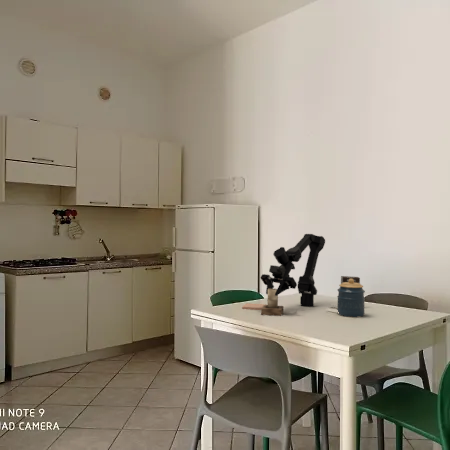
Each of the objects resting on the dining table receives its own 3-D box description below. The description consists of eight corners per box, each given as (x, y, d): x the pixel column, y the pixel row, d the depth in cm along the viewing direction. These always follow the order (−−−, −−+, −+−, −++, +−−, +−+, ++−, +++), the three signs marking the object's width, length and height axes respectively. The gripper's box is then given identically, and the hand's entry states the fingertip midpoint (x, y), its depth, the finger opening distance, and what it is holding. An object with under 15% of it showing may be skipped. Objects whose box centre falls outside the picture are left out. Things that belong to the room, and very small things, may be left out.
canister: (345, 317, 207) (346, 280, 207) (332, 312, 219) (332, 277, 220) (370, 316, 210) (370, 279, 210) (355, 311, 223) (355, 276, 223)
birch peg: (278, 307, 216) (278, 288, 216) (276, 308, 211) (277, 290, 211) (268, 306, 218) (268, 288, 218) (266, 308, 213) (266, 289, 213)
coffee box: (341, 307, 234) (342, 277, 234) (339, 305, 240) (340, 276, 240) (359, 308, 233) (360, 277, 233) (357, 306, 239) (357, 276, 239)
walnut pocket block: (283, 312, 218) (283, 306, 218) (280, 315, 209) (281, 309, 209) (264, 310, 220) (264, 304, 220) (261, 314, 211) (261, 308, 211)
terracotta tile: (266, 306, 233) (266, 304, 233) (263, 310, 222) (263, 308, 222) (246, 305, 236) (246, 303, 236) (242, 308, 225) (242, 306, 225)
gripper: (262, 258, 224) (248, 281, 216) (293, 260, 211) (280, 285, 203) (271, 272, 229) (258, 296, 221) (302, 275, 217) (289, 300, 209)
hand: (271, 294), depth 213 cm, fingers closed on birch peg, 5 cm apart
